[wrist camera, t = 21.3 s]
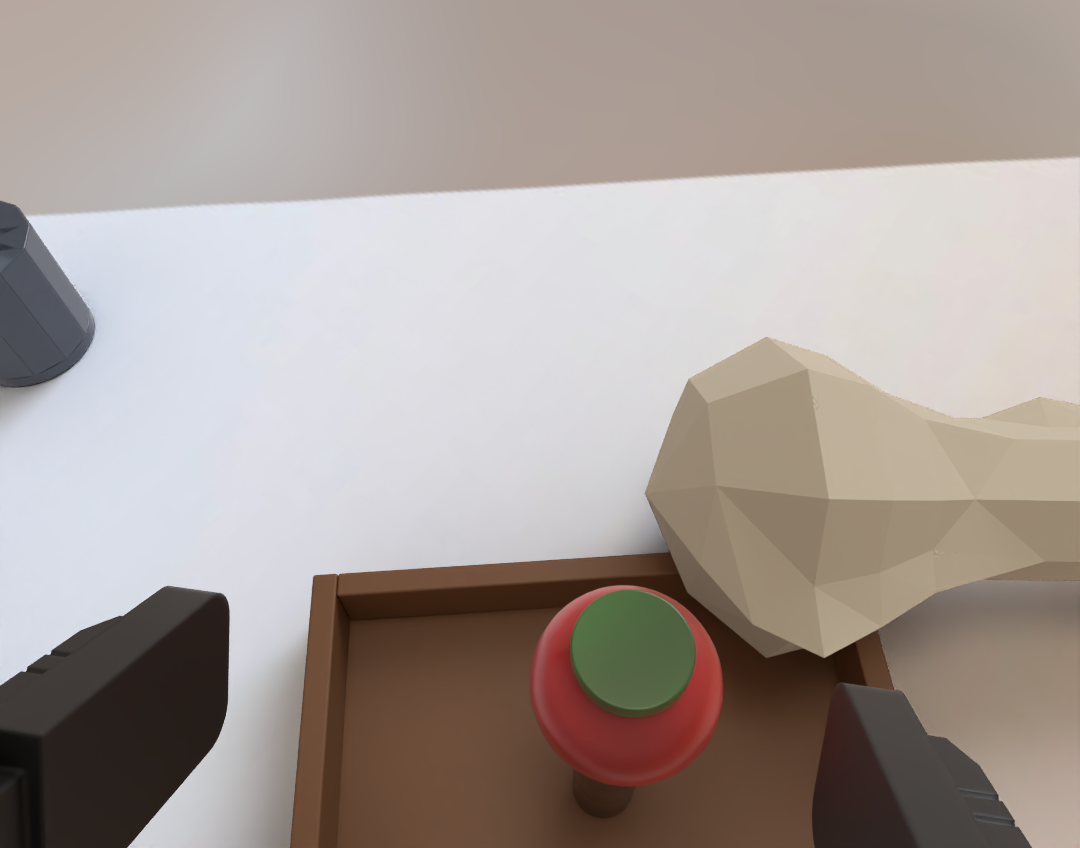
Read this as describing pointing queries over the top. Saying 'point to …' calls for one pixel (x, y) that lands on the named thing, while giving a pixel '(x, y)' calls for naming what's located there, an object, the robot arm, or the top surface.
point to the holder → (36, 307)
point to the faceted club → (853, 498)
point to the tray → (533, 719)
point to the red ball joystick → (625, 692)
